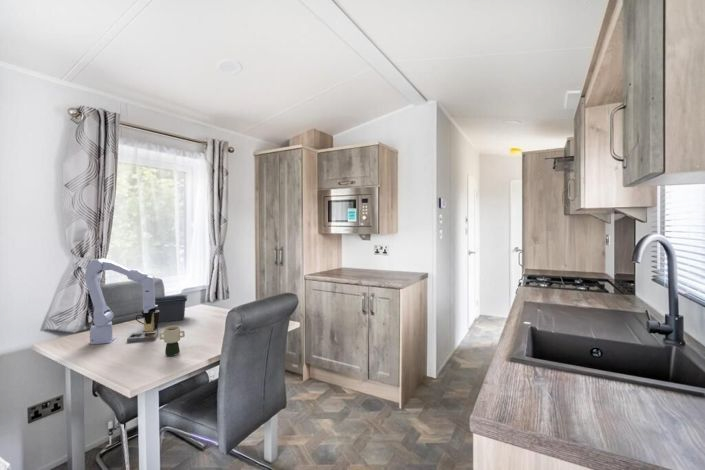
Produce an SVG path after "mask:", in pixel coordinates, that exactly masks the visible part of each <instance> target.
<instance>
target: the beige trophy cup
mask: <svg viewBox="0 0 705 470" xmlns="http://www.w3.org/2000/svg"><path fill="white" fill-rule="evenodd" d="M185 336H186V335H185V330H181V326H178V325H171V326H167V327H164V328H163V332H159V333H158V338H159V340H161V341H162V340H163V341H164V343H166V344H165V353H164V354H165V355H166V356H169V357H172V356H173V357H174V356H176V355H178V354H180V352H181V351H180V350H181V349H180V344H179V341H180V340H181V338H185Z"/></svg>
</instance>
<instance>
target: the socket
mask: <svg viewBox="0 0 705 470" xmlns="http://www.w3.org/2000/svg"><path fill="white" fill-rule="evenodd" d="M158 337H159V331H144V332H134V333H133V332H132V333H131V334H130V335H129V336H128V337H127V339H126V343H137V342H148V341H155V340H156V339H157V338H158Z"/></svg>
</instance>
